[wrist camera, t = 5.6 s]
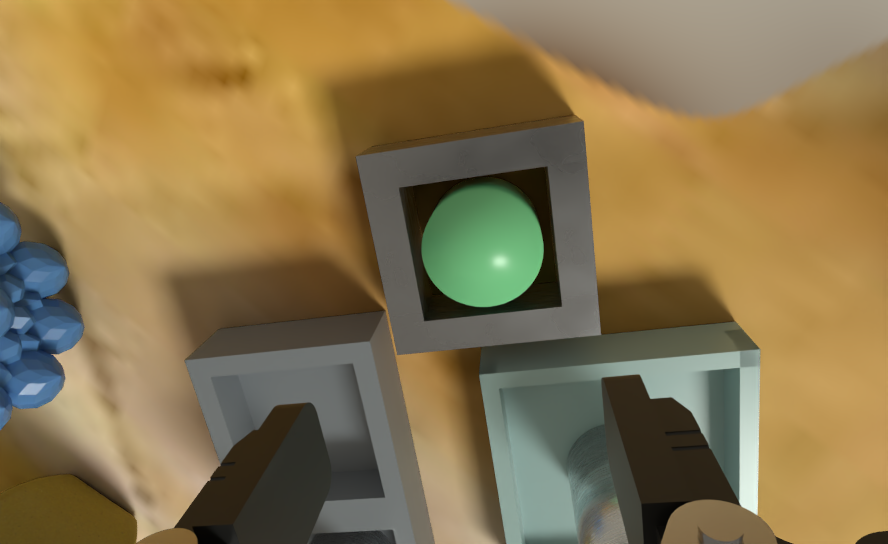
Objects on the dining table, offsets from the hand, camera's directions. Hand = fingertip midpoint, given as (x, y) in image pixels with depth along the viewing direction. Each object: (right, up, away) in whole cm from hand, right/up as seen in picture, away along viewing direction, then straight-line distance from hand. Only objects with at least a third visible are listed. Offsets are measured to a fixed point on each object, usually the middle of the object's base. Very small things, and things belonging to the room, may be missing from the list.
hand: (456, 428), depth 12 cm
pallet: (-6, -8, +20) cm, 23 cm away
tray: (+9, -6, +18) cm, 21 cm away
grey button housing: (+2, +5, +15) cm, 16 cm away
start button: (+2, +5, +14) cm, 15 cm away
